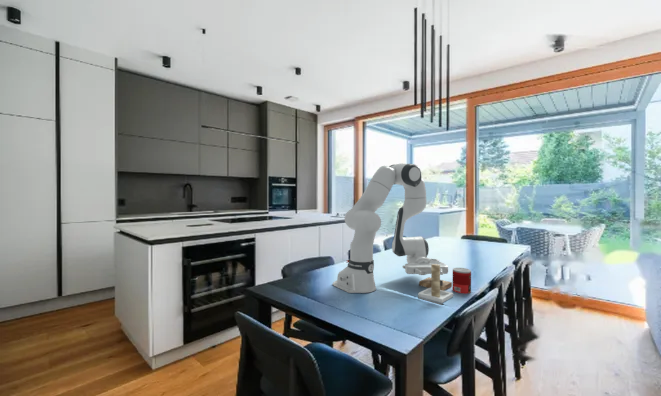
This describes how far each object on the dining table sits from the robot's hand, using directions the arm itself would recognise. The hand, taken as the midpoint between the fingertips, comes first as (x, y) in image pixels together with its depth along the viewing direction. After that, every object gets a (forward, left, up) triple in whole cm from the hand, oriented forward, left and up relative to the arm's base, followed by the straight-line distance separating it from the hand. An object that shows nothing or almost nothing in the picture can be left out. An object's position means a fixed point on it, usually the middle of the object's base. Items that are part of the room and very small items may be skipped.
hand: (431, 273), depth 138 cm
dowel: (+4, -4, -9) cm, 11 cm away
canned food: (+9, +12, -10) cm, 18 cm away
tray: (+4, -4, -10) cm, 11 cm away
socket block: (-3, +10, -10) cm, 15 cm away
